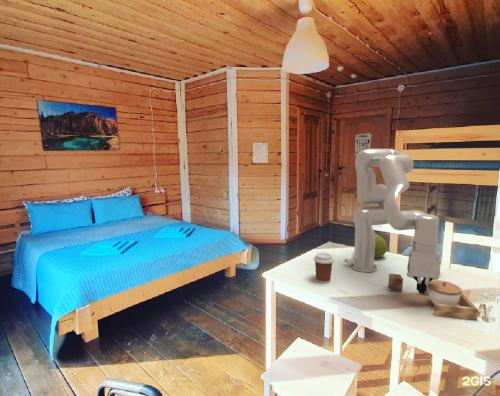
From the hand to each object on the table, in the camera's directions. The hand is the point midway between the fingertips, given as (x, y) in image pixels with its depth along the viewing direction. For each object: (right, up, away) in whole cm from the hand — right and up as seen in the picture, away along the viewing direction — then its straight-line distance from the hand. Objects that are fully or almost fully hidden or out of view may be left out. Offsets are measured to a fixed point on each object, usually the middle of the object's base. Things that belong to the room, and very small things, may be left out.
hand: (421, 292), depth 113 cm
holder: (+10, -4, +3) cm, 11 cm away
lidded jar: (+8, -5, -1) cm, 9 cm away
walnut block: (-4, -3, +12) cm, 13 cm away
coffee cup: (-33, -2, +22) cm, 39 cm away
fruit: (+2, +3, +51) cm, 52 cm away
